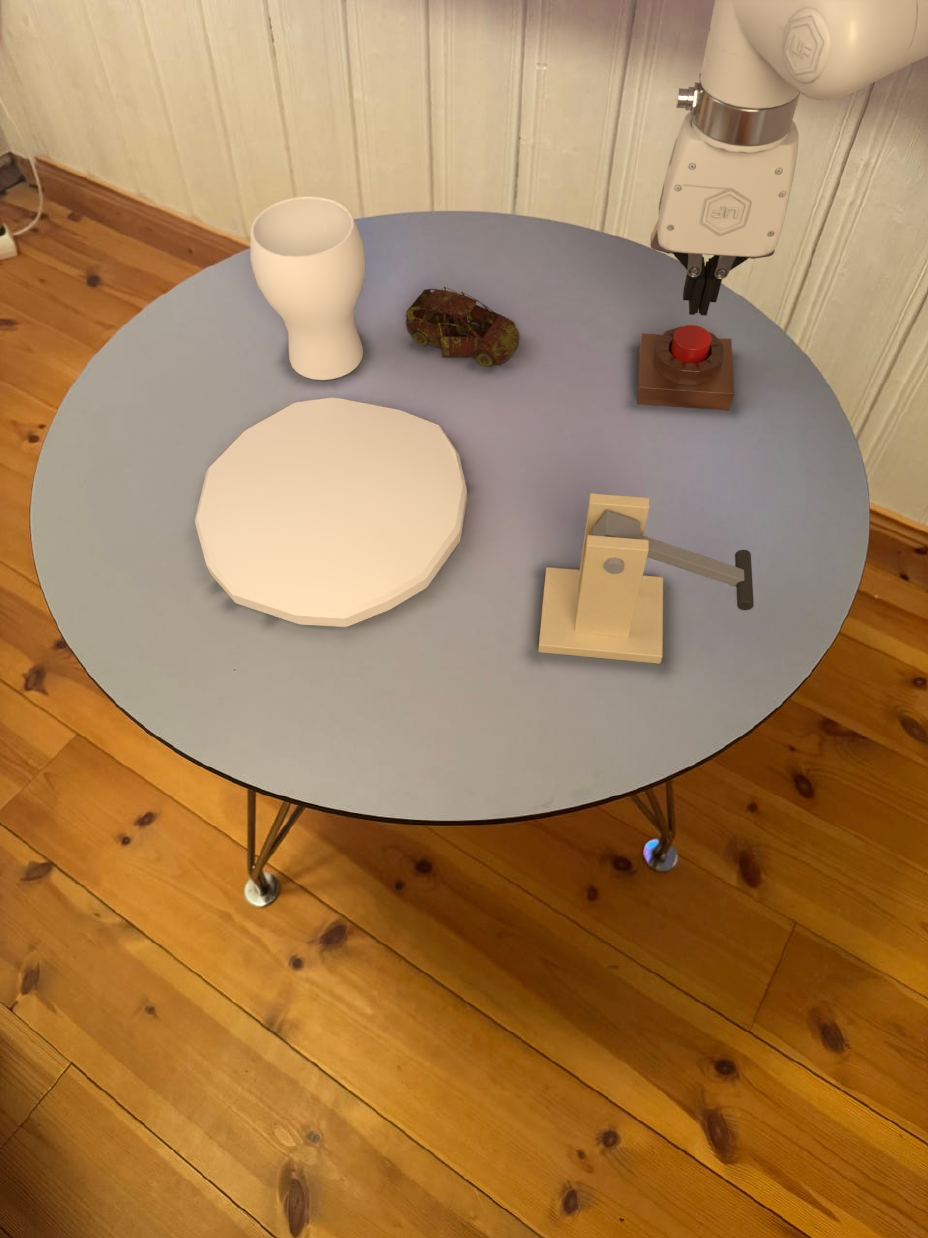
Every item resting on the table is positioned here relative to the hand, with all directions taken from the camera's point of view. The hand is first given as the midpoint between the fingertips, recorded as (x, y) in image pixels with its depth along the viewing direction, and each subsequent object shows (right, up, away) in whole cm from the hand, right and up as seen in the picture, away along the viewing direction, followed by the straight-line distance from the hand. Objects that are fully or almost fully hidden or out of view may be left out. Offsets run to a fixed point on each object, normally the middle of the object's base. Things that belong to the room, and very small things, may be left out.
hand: (697, 305), depth 86 cm
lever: (-6, -25, -16) cm, 30 cm away
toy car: (-22, -1, +11) cm, 25 cm away
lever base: (-10, -29, -8) cm, 32 cm away
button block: (0, -5, +7) cm, 9 cm away
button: (0, -3, +4) cm, 5 cm away
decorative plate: (-34, -20, -1) cm, 39 cm away
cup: (-36, -2, +11) cm, 38 cm away
